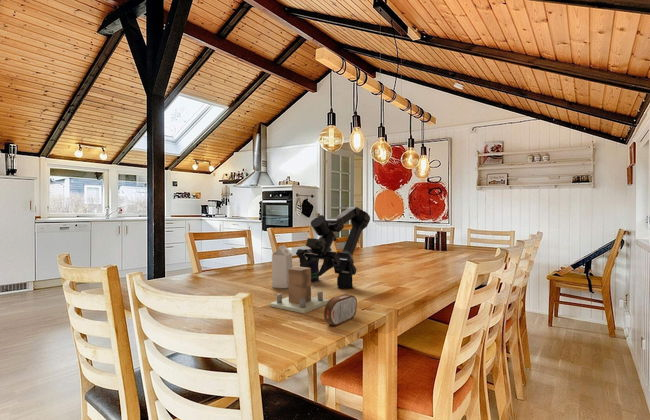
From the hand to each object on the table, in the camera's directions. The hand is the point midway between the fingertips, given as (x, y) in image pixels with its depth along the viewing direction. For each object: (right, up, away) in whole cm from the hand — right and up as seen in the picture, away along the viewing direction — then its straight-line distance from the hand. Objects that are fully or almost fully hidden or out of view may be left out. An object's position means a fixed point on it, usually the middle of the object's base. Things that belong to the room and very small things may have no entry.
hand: (309, 274), depth 141 cm
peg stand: (-3, -11, -5) cm, 12 cm away
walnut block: (-3, -9, -5) cm, 11 cm away
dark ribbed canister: (-2, -10, +38) cm, 40 cm away
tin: (+11, -11, -25) cm, 29 cm away
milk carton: (-13, -10, +25) cm, 30 cm away
